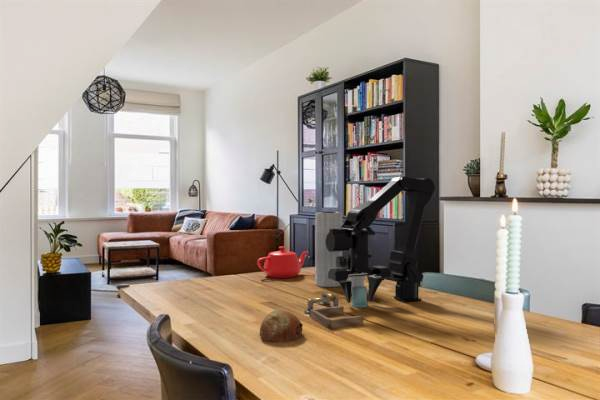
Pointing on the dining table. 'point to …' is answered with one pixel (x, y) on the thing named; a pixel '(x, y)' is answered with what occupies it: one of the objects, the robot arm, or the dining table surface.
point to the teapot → (282, 263)
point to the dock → (333, 323)
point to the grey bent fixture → (322, 301)
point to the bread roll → (280, 327)
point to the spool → (359, 296)
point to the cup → (357, 281)
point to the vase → (322, 255)
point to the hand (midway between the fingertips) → (359, 301)
